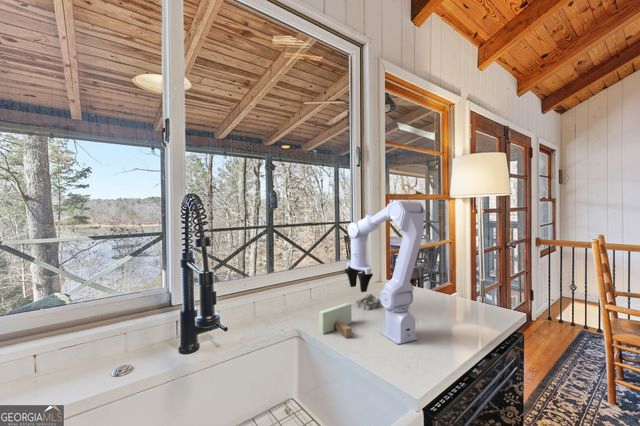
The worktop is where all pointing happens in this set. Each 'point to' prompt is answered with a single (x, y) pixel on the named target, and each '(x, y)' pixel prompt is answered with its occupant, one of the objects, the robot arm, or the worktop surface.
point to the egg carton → (368, 302)
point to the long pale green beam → (334, 317)
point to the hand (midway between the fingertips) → (358, 289)
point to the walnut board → (343, 329)
